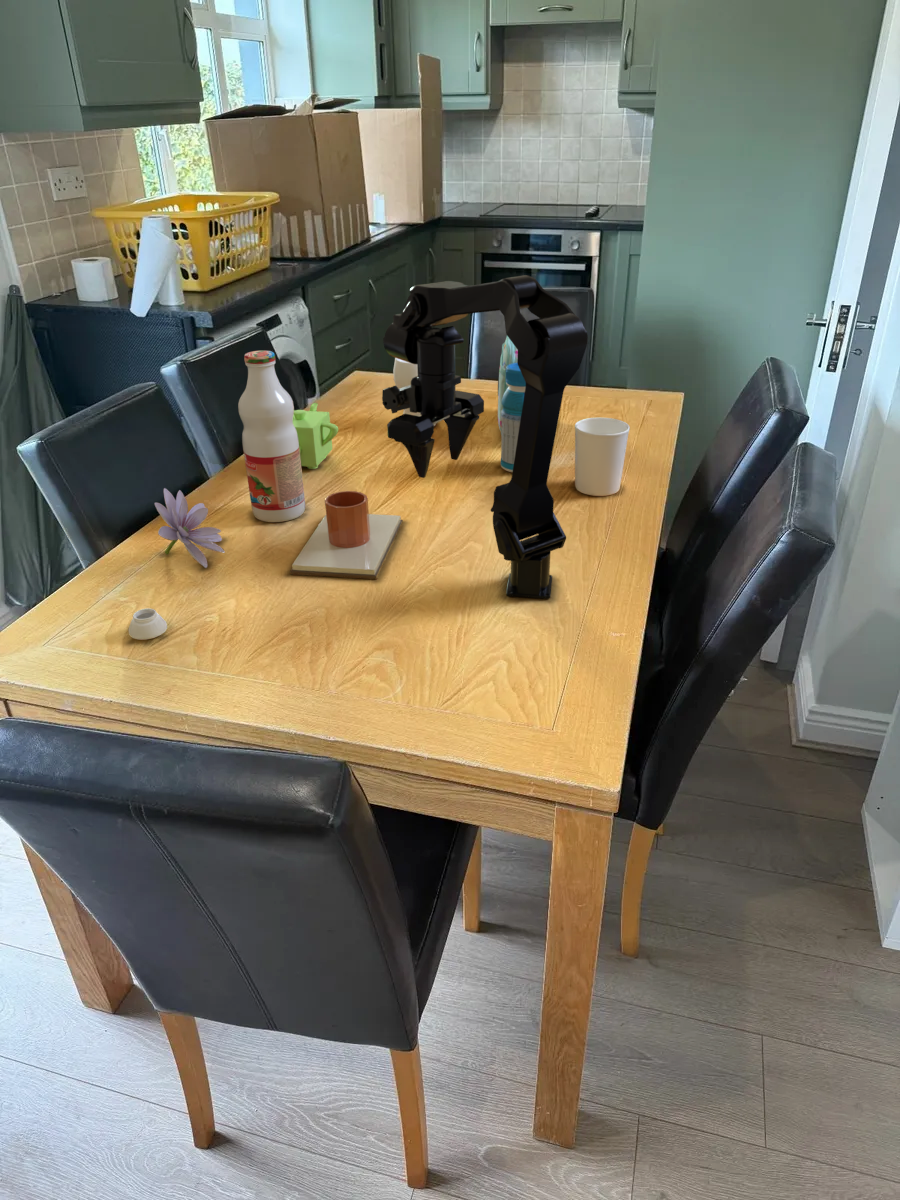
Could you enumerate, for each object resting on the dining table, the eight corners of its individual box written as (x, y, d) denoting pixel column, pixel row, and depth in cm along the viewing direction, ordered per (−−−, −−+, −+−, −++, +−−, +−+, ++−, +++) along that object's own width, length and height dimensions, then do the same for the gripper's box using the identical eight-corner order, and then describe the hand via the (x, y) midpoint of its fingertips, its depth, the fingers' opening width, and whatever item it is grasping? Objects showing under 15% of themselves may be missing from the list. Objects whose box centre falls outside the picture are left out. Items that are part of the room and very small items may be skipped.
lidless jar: (156, 618, 119) (123, 632, 116) (152, 600, 117) (118, 614, 114) (174, 632, 116) (140, 646, 113) (170, 613, 114) (136, 627, 111)
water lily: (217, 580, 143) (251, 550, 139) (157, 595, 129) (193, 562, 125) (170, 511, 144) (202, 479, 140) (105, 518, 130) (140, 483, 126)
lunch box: (497, 408, 201) (498, 315, 190) (540, 408, 201) (543, 315, 190) (497, 446, 178) (499, 343, 167) (546, 446, 178) (551, 343, 167)
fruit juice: (308, 520, 147) (291, 358, 133) (254, 526, 145) (230, 363, 131) (303, 499, 155) (286, 344, 141) (251, 505, 153) (228, 349, 139)
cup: (388, 421, 194) (385, 355, 186) (431, 414, 198) (429, 349, 190) (406, 434, 186) (403, 366, 178) (450, 427, 189) (449, 360, 182)
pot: (364, 549, 134) (361, 508, 130) (323, 546, 135) (319, 506, 131) (374, 531, 139) (371, 491, 136) (334, 529, 140) (331, 490, 137)
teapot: (287, 480, 163) (281, 427, 158) (255, 461, 173) (248, 411, 167) (354, 462, 171) (350, 410, 166) (320, 445, 181) (315, 396, 175)
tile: (376, 579, 128) (375, 570, 127) (290, 574, 130) (289, 565, 129) (403, 522, 146) (402, 514, 145) (326, 519, 148) (326, 511, 147)
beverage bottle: (496, 473, 165) (497, 371, 155) (504, 458, 172) (505, 359, 162) (538, 476, 163) (543, 373, 153) (545, 461, 170) (549, 361, 160)
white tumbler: (588, 474, 164) (592, 413, 158) (633, 485, 159) (639, 424, 153) (560, 489, 157) (564, 427, 151) (606, 502, 152) (612, 438, 146)
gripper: (428, 350, 138) (430, 442, 146) (355, 377, 124) (362, 476, 132) (486, 359, 132) (485, 454, 140) (417, 388, 119) (420, 491, 127)
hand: (438, 468), depth 135 cm, fingers open, 9 cm apart
